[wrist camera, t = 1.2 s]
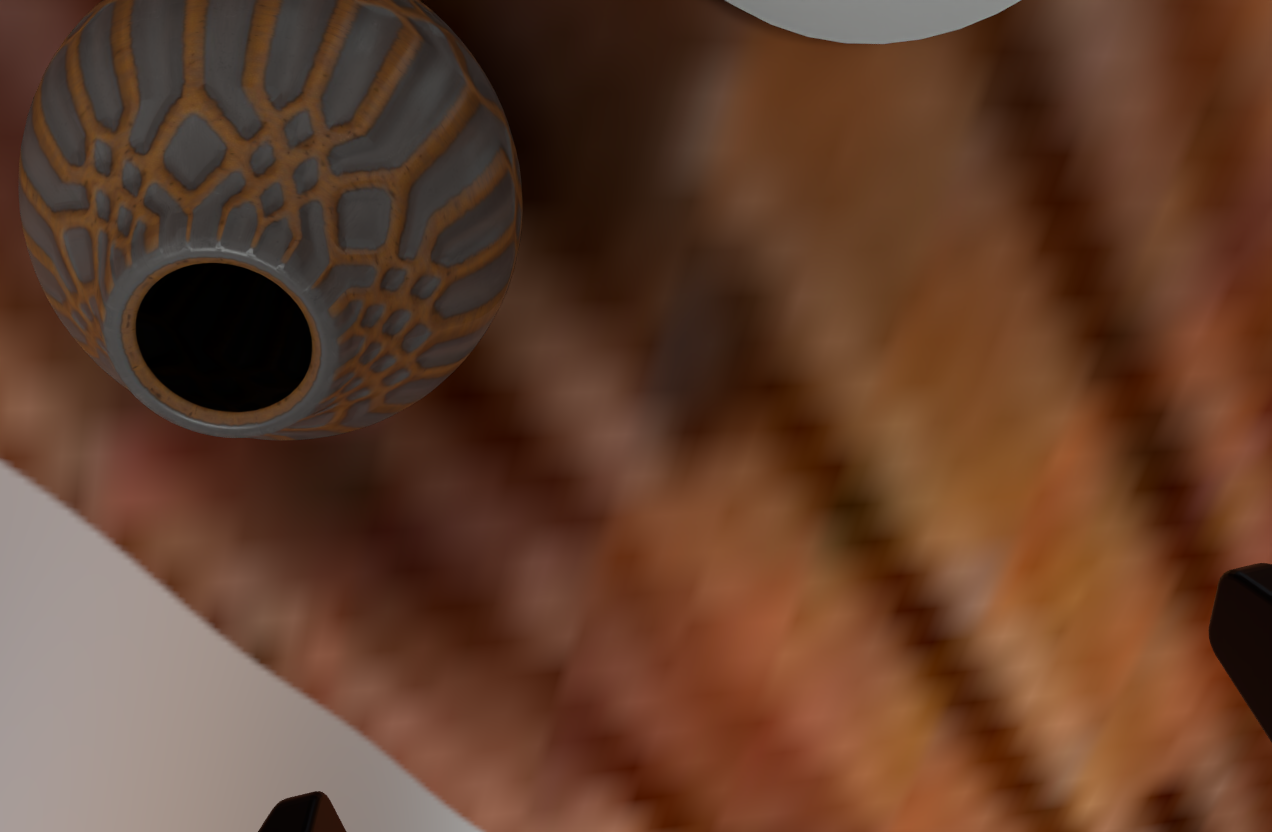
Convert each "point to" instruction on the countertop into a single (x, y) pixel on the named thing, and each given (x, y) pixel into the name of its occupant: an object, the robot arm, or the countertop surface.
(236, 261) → the vase
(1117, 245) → the countertop surface
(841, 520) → the countertop surface
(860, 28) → the white round plate
